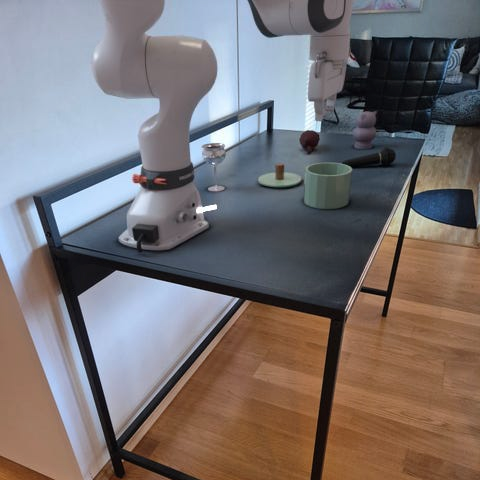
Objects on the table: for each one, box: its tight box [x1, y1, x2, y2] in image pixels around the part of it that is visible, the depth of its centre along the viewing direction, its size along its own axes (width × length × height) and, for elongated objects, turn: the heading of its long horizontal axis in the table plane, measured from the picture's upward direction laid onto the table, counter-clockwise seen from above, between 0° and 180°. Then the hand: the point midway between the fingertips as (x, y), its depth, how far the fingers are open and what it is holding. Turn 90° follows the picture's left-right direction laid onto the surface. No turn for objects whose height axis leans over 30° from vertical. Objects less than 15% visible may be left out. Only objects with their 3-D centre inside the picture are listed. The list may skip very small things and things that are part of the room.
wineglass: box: [201, 142, 227, 192], centre depth 127 cm, size 7×7×12 cm
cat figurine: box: [352, 110, 378, 150], centre depth 159 cm, size 8×8×12 cm
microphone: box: [340, 146, 397, 168], centre depth 142 cm, size 6×6×20 cm
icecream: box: [299, 129, 321, 155], centre depth 161 cm, size 7×7×15 cm
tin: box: [303, 161, 353, 210], centre depth 116 cm, size 12×12×8 cm
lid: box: [257, 162, 302, 188], centre depth 131 cm, size 13×13×5 cm
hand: (324, 117), depth 107 cm, fingers open, 8 cm apart
